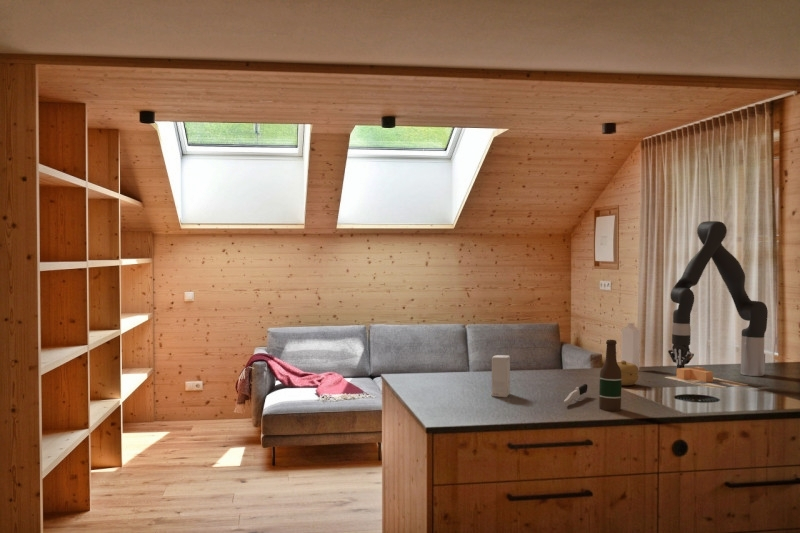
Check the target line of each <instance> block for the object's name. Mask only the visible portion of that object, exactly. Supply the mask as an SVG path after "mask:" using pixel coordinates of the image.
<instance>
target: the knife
mask: <svg viewBox="0 0 800 533" xmlns="http://www.w3.org/2000/svg"><path fill="white" fill-rule="evenodd" d="M587 392H588V384H587V383H585V384H582V385H580V386H576V387H575V389H574V390H573V391H571V392H569V394H568V395H567V397H565V399H564V400H563V404H564V405H565V406H568V407H569V406H570V405H571V404H572V403H573V402H574V401H575V400H576V401H579V399H580V396H581V395H584V394H586V393H587Z"/></svg>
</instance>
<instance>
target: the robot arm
mask: <svg viewBox="0 0 800 533" xmlns="http://www.w3.org/2000/svg"><path fill="white" fill-rule="evenodd" d="M696 229H697V230H696V233H697V237H698V238H699V240H700V242H701V244H702V246H701V248H700V250H699V251H698V252H697V253H696V254H695V255H694V256H693V257H692V258H691V259H690V261H689V262H688V264H687V265H686V267H685V269H684V272H683V273H682V276H681V277H680V279H678V281H677V282H676V283H675V284H674V286H673V287H672V289H671V292H670V300H671V301H672V303H675V304H678V308H677V309H675V310H673V314H672V327H671V344H672V348H671V349H669V350H668V351H667V352H668V354H669V356H670V358H671V360H672V362H673V363H675V364H676V369H677V368H685V365H688V364H689V363H690V362H691V360H692V359H693V357H694V355H695V353H692V352H691V351H690V350H691V349H690V345H691V334H692V333H691V332H692V330H691V329H692V326H691V313H692V310H693V306H694V304H695V294H694V292H693V290H692V289H691V287H694V286H696V285H698V284H699V281H700V279H701V277H702V275H703V272H704V271H705V269H706V268H707V265H708V263H709V261H710V260H711V259H712V261H713V263H714V265H715V267H716V269H717V271H718V274H719V275H720V277H721V278H722V280H723V282H724V284H725V286H726V288H727V290H728V292H729V294H730V296H731V298H732V301H733V304H734V306H735V308H736V312H737V314H738V315H739V317H740V318H741V319H742V320H744V321H748V322H749V324H748V326H747V327H745V328H743V329H742V330H741V339H740V340H741V341H740V342H741V344H740V346H741V347H740V348H741V349H740V374H741V375H743V376H749V377H763V376H765V375H766V353H765V333H766V332H767V328H768V318H769V317H768V316H769V315H768V314H769V313H768V312H769V311H768V307H767V305H766V304H765V303H764V302H763V301H759V300H758V301H757V300H751V298H750V297H749V295H748V293H747V291H746V288H745V284H746V274H745V271H744V269H743V267H742V265H741V263H740V262H739V260H738V259H737V258H736V257H735V256H734V255H733V254H732V253H731V252H730V251H728V250H727V248H725V247H724V245H723V241H724V240H725V238H726V236H727V233H728V232H727V231H728V229H727V226H726V224H725V223H723V222H722V221H718V220H716V221H715V220H709V221H706V220H705V221H702V222H700V223H699V224H698V226H697V228H696Z"/></svg>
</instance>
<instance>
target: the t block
mask: <svg viewBox="0 0 800 533" xmlns="http://www.w3.org/2000/svg"><path fill="white" fill-rule="evenodd" d="M676 376H677V377H676V378H679V379H694V380H698V381H703V382H713V378H714V371H710V370H706V368H705V367H701V366H700V367H699V366H694V367H692V366H691V367H684V368H677V367H676Z"/></svg>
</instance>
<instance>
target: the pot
mask: <svg viewBox="0 0 800 533" xmlns="http://www.w3.org/2000/svg"><path fill="white" fill-rule="evenodd" d="M617 364H618V366H619V367H620V370H621V377H622V379H621V386H624V387H625V386H632V385H635V383H636V382H637V381H638V380H639V375H638V372H639V371H638V367H637V366H636V365H635V364H632V363H626V361H624V360H623V361H621V360H620V361H619V362H618V361H617Z"/></svg>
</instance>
